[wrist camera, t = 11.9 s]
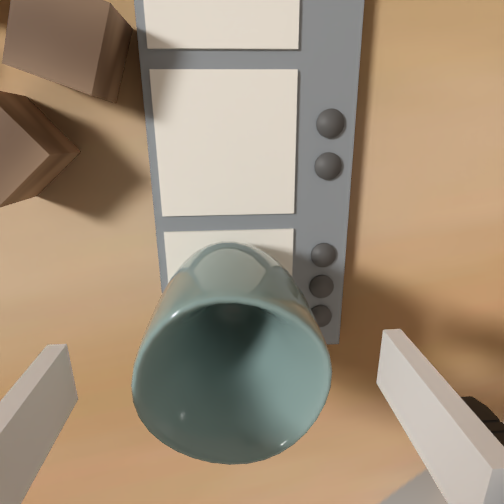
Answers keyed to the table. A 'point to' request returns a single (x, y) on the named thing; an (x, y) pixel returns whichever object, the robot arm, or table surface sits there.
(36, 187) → the walnut block
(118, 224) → the table surface
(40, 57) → the walnut block
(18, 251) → the table surface
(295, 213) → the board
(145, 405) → the cup
